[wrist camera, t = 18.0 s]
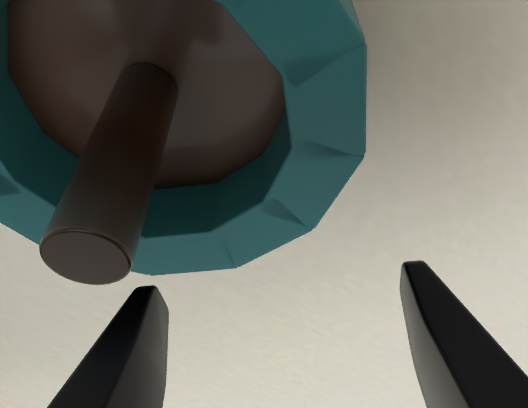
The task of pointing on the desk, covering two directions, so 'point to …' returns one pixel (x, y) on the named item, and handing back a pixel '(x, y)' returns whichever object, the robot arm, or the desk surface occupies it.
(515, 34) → the desk surface
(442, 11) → the desk surface
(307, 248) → the desk surface
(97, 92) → the stand
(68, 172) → the ring
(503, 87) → the desk surface
